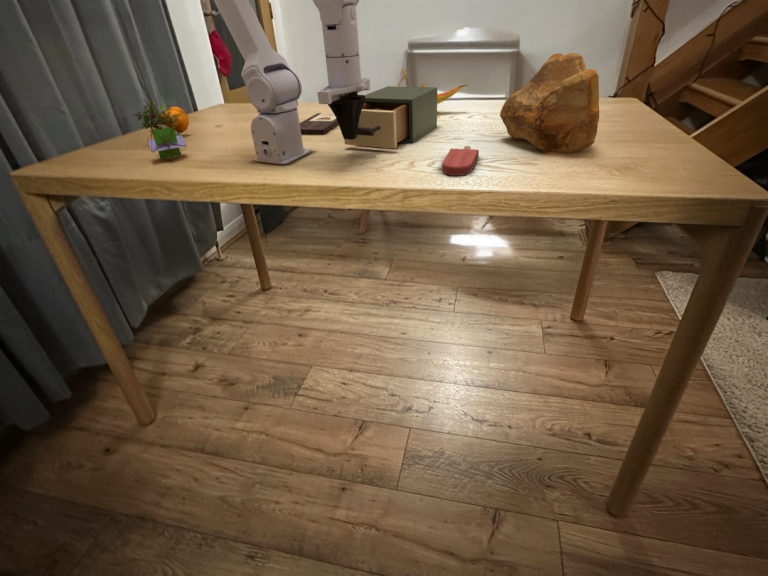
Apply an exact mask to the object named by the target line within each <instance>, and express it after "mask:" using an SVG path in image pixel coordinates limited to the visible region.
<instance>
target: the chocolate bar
mask: <svg viewBox="0 0 768 576" xmlns="http://www.w3.org/2000/svg"><path fill="white" fill-rule="evenodd" d="M299 123H300V129H301V135H304V134H305V135H325V134H326V133H328V132H329V131H331V130H332V129H334V128H335V127H337V126H339V124H338V121H337V119H336V117H335V115H334V113H333V112H317V113H315V114H313V115H312V116H310V117H308V118H306V119H305V120H303V121H300V122H299Z"/></svg>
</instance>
